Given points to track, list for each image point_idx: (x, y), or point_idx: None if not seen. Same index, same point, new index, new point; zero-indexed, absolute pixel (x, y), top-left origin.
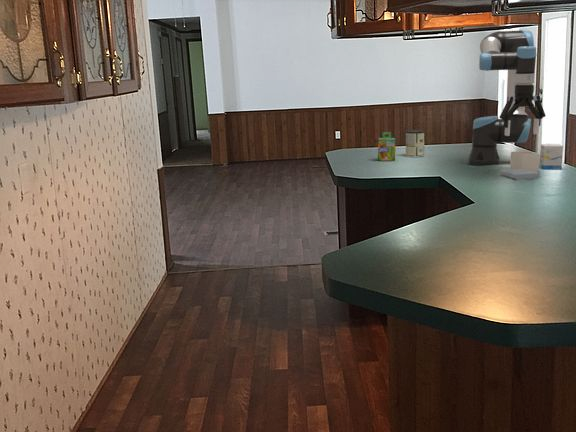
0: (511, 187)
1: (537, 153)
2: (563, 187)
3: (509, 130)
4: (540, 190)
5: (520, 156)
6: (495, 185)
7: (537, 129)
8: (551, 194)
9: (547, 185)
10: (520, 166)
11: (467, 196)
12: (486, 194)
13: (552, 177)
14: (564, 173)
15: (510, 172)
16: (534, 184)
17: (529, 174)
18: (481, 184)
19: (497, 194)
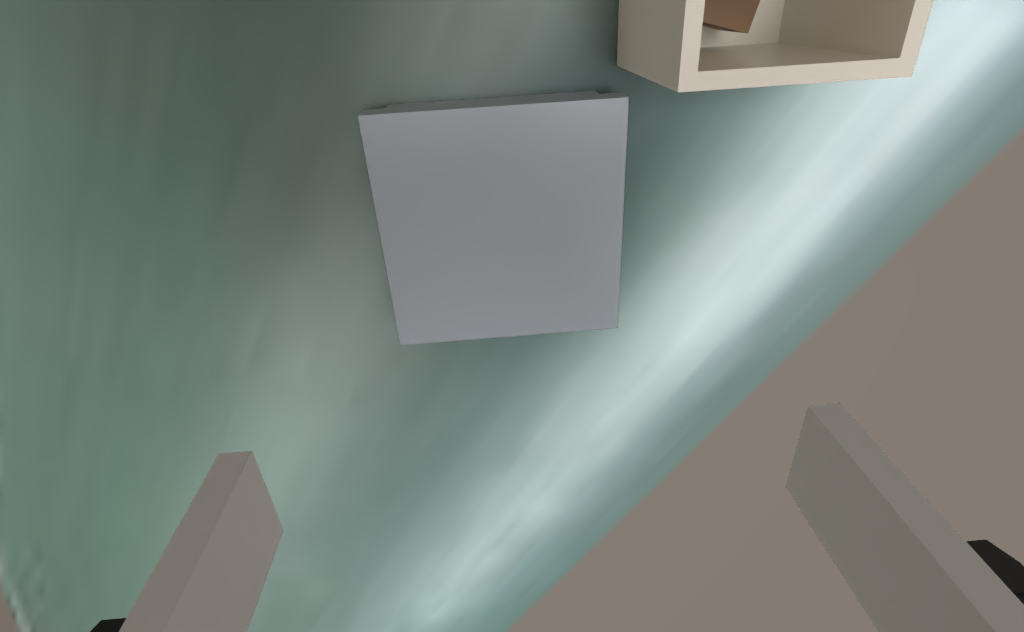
0: (302, 492)
1: (891, 67)
2: (568, 530)
3: (242, 619)
4: (418, 566)
5: (672, 17)
6: (224, 431)
7: (838, 559)
8: (422, 627)
9: (523, 480)
10: (636, 29)
11: (20, 616)
12: (122, 597)
13: (736, 267)
14: (967, 122)
15: (411, 253)
16: (470, 447)
17: (528, 332)
18: (136, 389)
19: None
